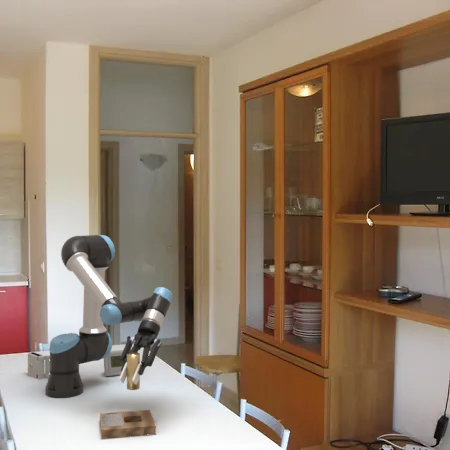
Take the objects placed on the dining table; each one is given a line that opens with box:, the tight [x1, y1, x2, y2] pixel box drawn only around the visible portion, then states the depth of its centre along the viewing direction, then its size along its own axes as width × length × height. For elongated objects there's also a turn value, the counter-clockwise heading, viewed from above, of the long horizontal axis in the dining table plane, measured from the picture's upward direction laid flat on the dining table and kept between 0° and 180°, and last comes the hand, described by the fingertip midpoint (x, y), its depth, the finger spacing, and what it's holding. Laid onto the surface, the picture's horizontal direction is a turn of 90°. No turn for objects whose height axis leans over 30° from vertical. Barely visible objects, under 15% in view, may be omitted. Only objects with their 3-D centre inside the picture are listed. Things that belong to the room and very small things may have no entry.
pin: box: [126, 352, 141, 391], centre depth 207 cm, size 4×4×12 cm
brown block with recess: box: [99, 409, 157, 440], centre depth 207 cm, size 18×16×3 cm
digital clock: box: [103, 349, 139, 377], centre depth 273 cm, size 16×9×11 cm, turn 102°
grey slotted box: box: [27, 351, 50, 380], centre depth 267 cm, size 14×5×10 cm, turn 59°
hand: (127, 381), depth 204 cm, fingers closed on pin, 4 cm apart
